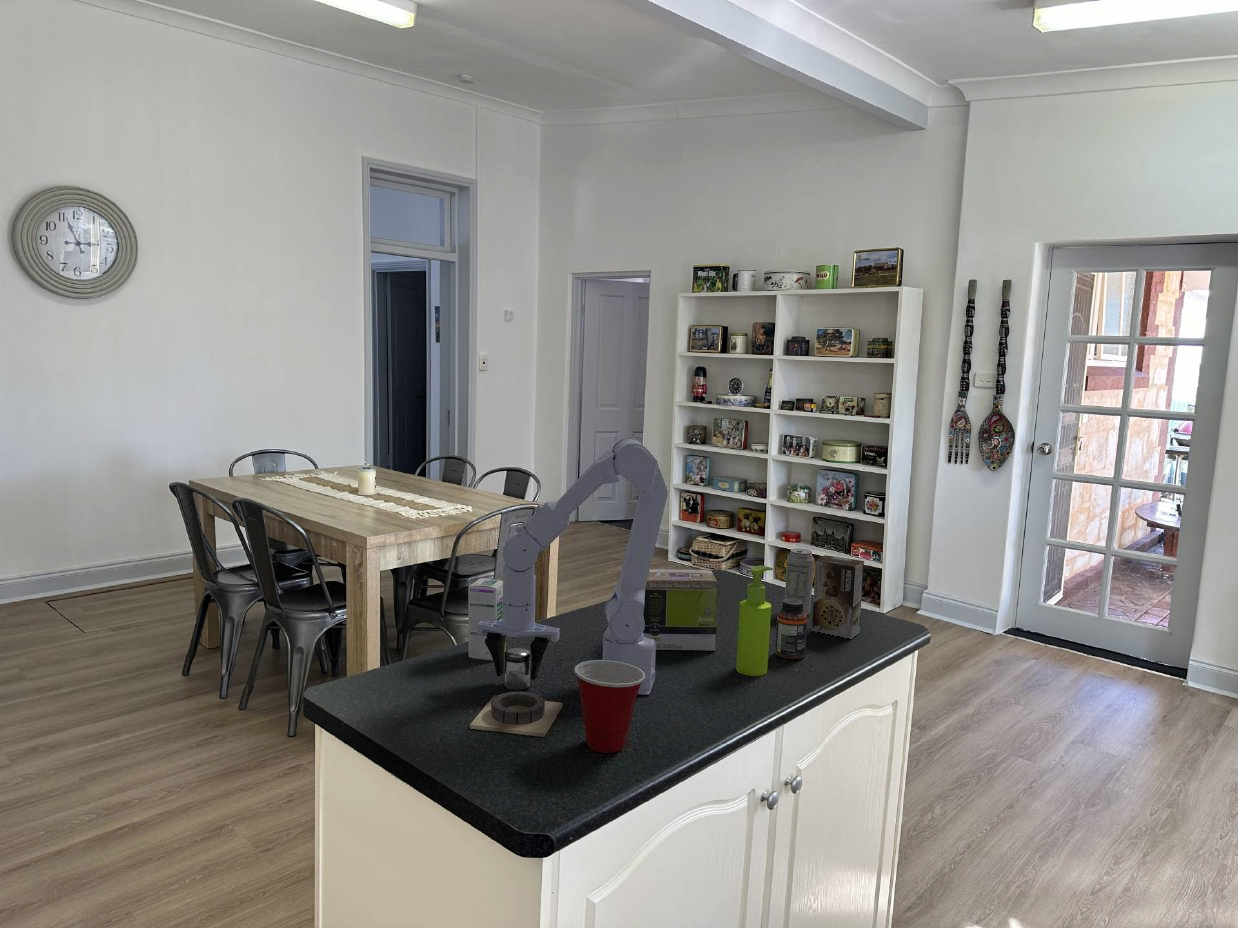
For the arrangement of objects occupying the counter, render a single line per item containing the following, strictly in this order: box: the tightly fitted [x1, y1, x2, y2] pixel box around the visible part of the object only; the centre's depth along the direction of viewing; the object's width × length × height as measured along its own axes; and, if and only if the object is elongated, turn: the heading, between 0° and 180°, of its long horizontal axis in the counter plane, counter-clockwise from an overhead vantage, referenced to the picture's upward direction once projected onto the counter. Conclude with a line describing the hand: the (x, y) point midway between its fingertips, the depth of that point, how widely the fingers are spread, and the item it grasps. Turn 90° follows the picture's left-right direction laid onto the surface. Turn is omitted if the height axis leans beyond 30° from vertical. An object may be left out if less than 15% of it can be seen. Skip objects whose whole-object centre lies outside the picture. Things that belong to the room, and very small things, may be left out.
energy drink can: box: [784, 548, 815, 616], centre depth 204 cm, size 6×6×15 cm
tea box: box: [643, 568, 719, 652], centre depth 180 cm, size 15×10×15 cm, turn 92°
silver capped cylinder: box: [504, 647, 531, 691], centre depth 156 cm, size 4×4×6 cm
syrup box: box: [467, 577, 507, 661], centre depth 170 cm, size 6×6×14 cm
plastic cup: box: [574, 659, 645, 754], centre depth 134 cm, size 11×11×12 cm
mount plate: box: [469, 690, 563, 738], centre depth 143 cm, size 12×12×3 cm
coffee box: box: [811, 554, 865, 640], centre depth 191 cm, size 9×6×16 cm
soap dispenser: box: [735, 565, 774, 677], centre depth 167 cm, size 6×7×20 cm
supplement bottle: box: [774, 598, 808, 661], centre depth 176 cm, size 6×6×11 cm
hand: (517, 675), depth 156 cm, fingers open, 6 cm apart
